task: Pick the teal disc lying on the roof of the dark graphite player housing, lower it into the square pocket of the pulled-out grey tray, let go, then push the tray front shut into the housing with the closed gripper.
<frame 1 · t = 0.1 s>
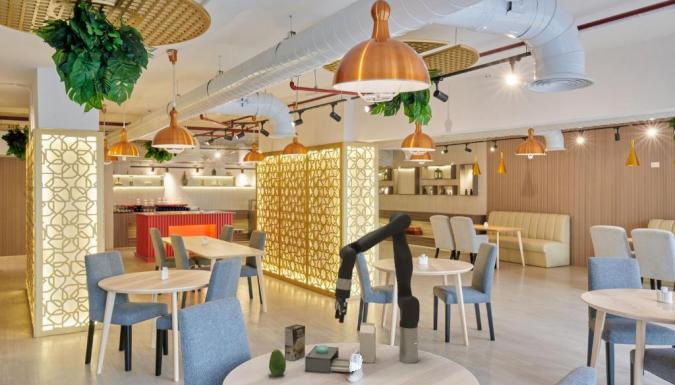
hand: (338, 320, 259), 23 cm above the table, tool pointing down, fingers open, 8 cm apart
player housing: (322, 366, 260), on the table
disc: (322, 352, 259), point 7 cm above the table, touching player housing
tray: (343, 360, 257), point 4 cm above the table, slide at 9.0 cm
avocado: (277, 376, 247), on the table
coffee box: (295, 358, 272), on the table
milk carton: (367, 360, 268), on the table
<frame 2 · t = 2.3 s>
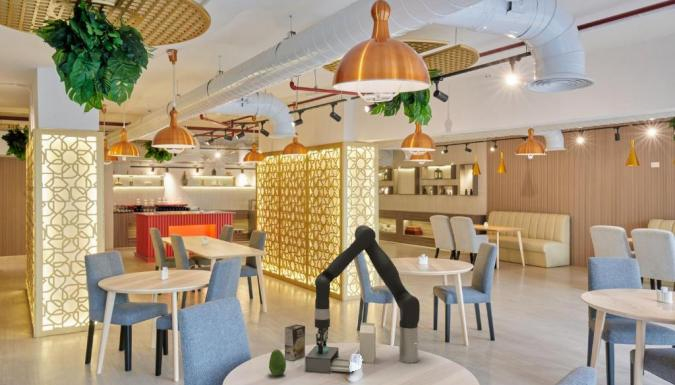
hand: (322, 351, 259), 7 cm above the table, tool pointing down, fingers closed on disc, 6 cm apart
disc: (322, 352, 259), point 7 cm above the table, touching gripper, player housing
everything else where it was.
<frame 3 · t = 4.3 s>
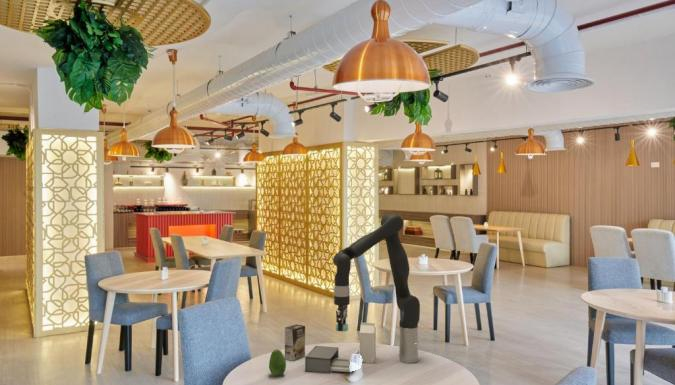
hand: (341, 328, 257), 19 cm above the table, tool pointing down, fingers closed on disc, 6 cm apart
disc: (341, 329, 257), point 19 cm above the table, touching gripper
everything else where it was.
when the fingers open (4 cm above the table, at t = 6.5 s): disc drops 1 cm, resting on tray.
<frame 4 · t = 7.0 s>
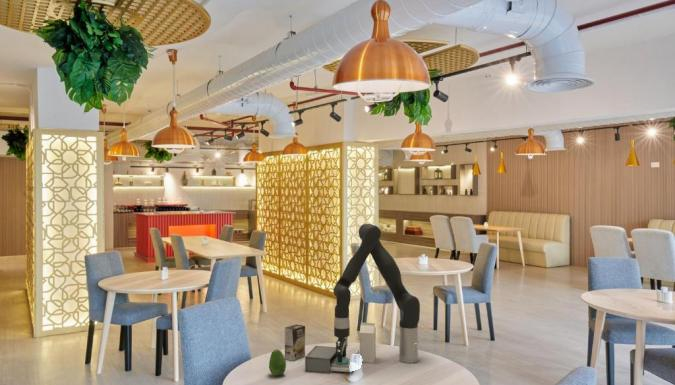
hand: (341, 359, 257), 4 cm above the table, tool pointing down, fingers open, 8 cm apart
disc: (341, 363, 257), point 2 cm above the table, touching tray
tray: (343, 360, 257), point 4 cm above the table, slide at 9.0 cm, touching disc
everything else where it was.
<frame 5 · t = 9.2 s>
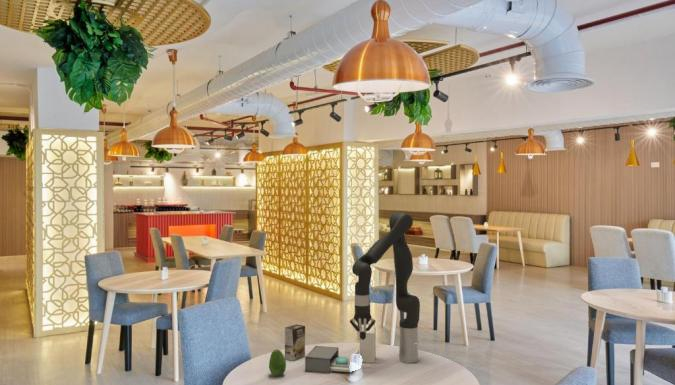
hand: (362, 339, 256), 14 cm above the table, tool pointing down, fingers closed
nothing on the table moved.
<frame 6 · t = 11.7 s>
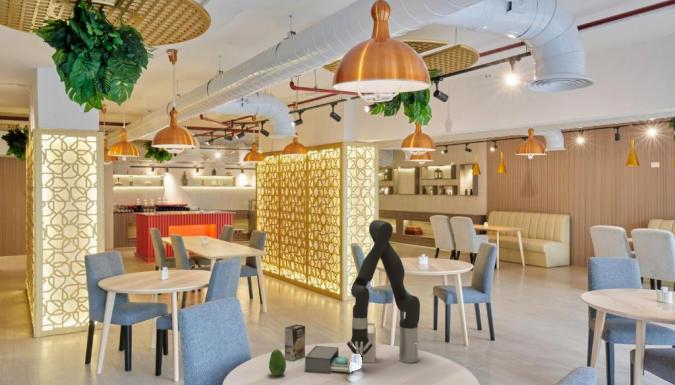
hand: (359, 362, 255), 4 cm above the table, tool pointing down, fingers closed
tray: (342, 360, 257), point 4 cm above the table, slide at 8.8 cm, touching disc, gripper
everything else where it was.
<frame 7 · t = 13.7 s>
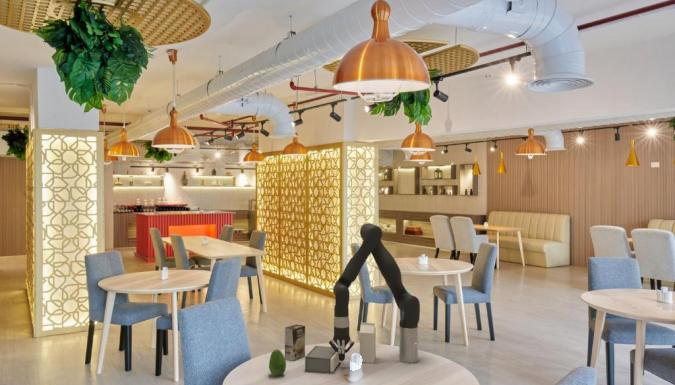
hand: (342, 360, 257), 4 cm above the table, tool pointing down, fingers closed
disc: (323, 362, 259), point 2 cm above the table, touching tray
tray: (325, 358, 259), point 4 cm above the table, slide at 0.0 cm, touching disc, gripper
everything else where it was.
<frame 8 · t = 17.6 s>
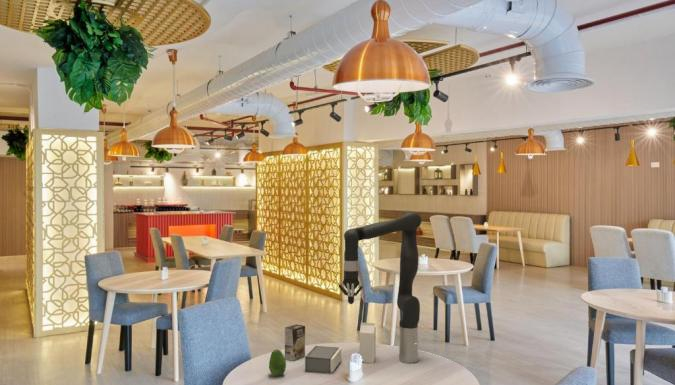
hand: (351, 303, 267), 29 cm above the table, tool pointing down, fingers closed
tray: (325, 358, 259), point 4 cm above the table, slide at 0.0 cm, touching disc
everything else where it was.
at the end: tray slide at 0.0 cm; disc inside the target area on the player housing (0.6 cm from its centre), point 2.1 cm above the player housing's base; disc tilted 0° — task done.
